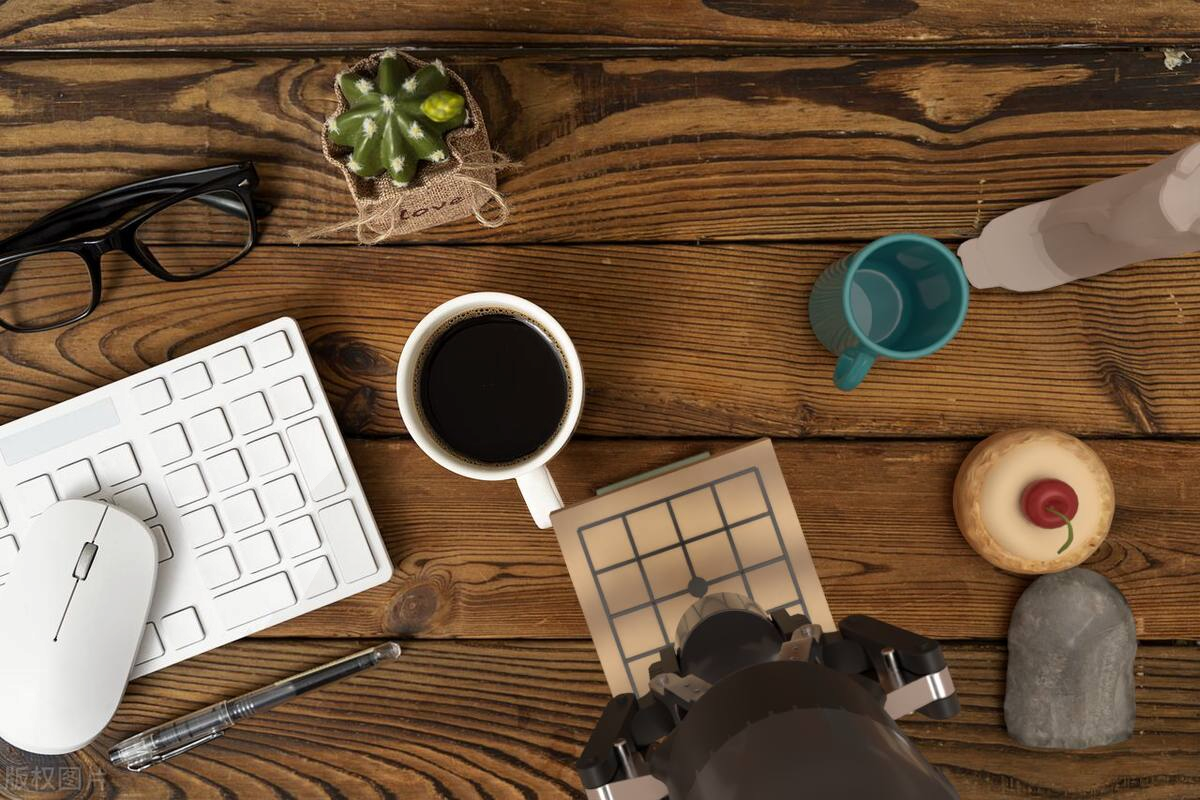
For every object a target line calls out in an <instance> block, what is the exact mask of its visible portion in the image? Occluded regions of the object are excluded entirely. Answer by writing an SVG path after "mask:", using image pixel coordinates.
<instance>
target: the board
mask: <svg viewBox="0 0 1200 800" xmlns="http://www.w3.org/2000/svg"><path fill="white" fill-rule="evenodd" d="M785 479H786V478H785V477H784V473H783V471H782V468H781V465H780V462H779V459H778V456H777V453H776V450H775V448H774V445H773V442H772V439H771V438H770V437H766V436H763V437H761V438H758V439H755V440H752V441H749V442H747V443H743V444H740V445H738V446H735V447H732V448H730V449H726V450H723V451H720V452H718V453H716V454H712V455H711V454H710V452H709V451H708V450H706V451H703V452H699V453H697V454H694V455H692V456H688V457H685V458H682V459H680V460H677V461H674V462H670V463H668V464H665V465H662V466H659V467H657V468H654V469H651V470H648V471H645V472H642V473H639V474H636V475H633V476H631V477H627V478H625V479H622V480H619V481H617V482H614V483H610V484H608V485H605V486H603V487H599V488H597V489H596V495H594V496H592V497H589V498H585V499H583V500H580V501H577V502H574V503H571V504H569V505H565V506H562V507H559V508H557V509H554V510H551V511H550V512H549V515H548V517H549V520H550V523H551V526H552V529H553V532H554V535H555V537H556V540H557V543H558V547H559V548H560V549H559V550H560V551H561V554H562V557H563V559H564V563H565V566H566V568H567V571H568V574H569V577H570V579H571V583H572V587H573V589H574V591H575V594H576V598H577V600H578V602H579V605H580V607H581V608H580V609H581V611H582V614H583V616H584V619H585V622H586V625H587V628H588V632H589V634H590V637H591V639H592V643H593V645H594V648H595V650H596V653H597V656H598V659H599V662H600V665H601V668H602V671H603V674H604V676H605V679H606V682H607V685H608V687H609V691H610V693H611V697H612V698H614V697H615V696H617V695H619V694H622V693H634V694H635V695H636V698H637V699H639V698H641V697H643V696H644V695H646V694H647V693H648V692H649V691H650V688H649V685H648V683H649V682H650V678H649V671H648V668H649V667H650V665H651V664H652V663H655V662H658V661H661V658H660V653H659V650H662V649H665V648H668V647H671V646H673V647H674V649H675V634H676V629H677V626H678V624H679V621H680V619H681V618H682V616H683V614H684V613H685V612H686V610H687V609H688V608H689V607H690V606H691V605H692V604H694V603H695V602H696V601H698V600H699V599H701V598H703V597H705V596H707V595H710V594H714V593H720V592H731V593H737V594H741V595H744V596H746V597H748V598H750V599H752V600H754V601H755V602H756V603H758V604H759V605H760V606H761V607H762V608H763V609H764V610H765V612H766V613H767V614H768V616H769V617H770V619H771V616H770V612H773V611H776V610H779V609H782V608H785V610H786V611H787V612H788V613H789V615H790V616H792V615H795V614H798V613H799V614H803V615H805V616H806V617H807V618H808V620H809V621H810V622H811V623H812V624H819V625H821V627H822V630H823V632H834V631H838V629H837V627H836V624H835V621H834V617H833V615H832V612H831V610H830V606H829V604H828V601H827V598H826V595H825V592H824V589H823V586H822V584H821V583H822V582H821V580H820V578H819V575H818V571H817V569H816V566H815V563H814V560H813V557H812V555H811V552H810V548H809V546H808V542H807V541H806V537H805V534H804V531H803V528H802V525H801V523H800V520H799V517H798V514H797V512H796V508H795V507H794V506H795V505H794V502H793V500H792V497H791V494H790V491H789V488H788V485H787V483H786V480H785ZM771 620H772V619H771ZM675 652H676V651H675Z"/></svg>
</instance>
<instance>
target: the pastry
mask: <svg viewBox="0 0 1200 800" xmlns="http://www.w3.org/2000/svg"><path fill="white" fill-rule="evenodd" d="M952 506H953V512H954V516H955V520H956V523H957V527H958V529H959V531H960V532H961V533H960V534H962V536H963V537H964V539H965V541H966V542H967V543H968V544H969V546H970V547H971V548H972V549H973V550H974V551H975V552H976V553H977V554H978V555H979V556H981V557H982V558H983V559H985V560H986V561H987V562H989V563H990V564H992V565H993V566H995V567H997V568H999V569H1002V570H1004V571H1008V572H1010V573H1015V574H1016V573H1017V574H1023V575H1025V574H1026V575H1043V574H1046V573H1055V572H1060V571H1063V570H1067V569H1069V568H1072V567H1078V566H1079V565H1081V564H1082V563H1083V562H1085V561H1087V559H1088V558H1089V557H1091V556H1092V555H1093V554H1094V553H1095V552H1096V551H1097V550H1098V549H1099V547H1100V546H1101V545H1102V544H1103V542H1104V541H1105V539H1106V538H1107V536H1108V534H1109V532H1110V529H1111V526H1112V522H1113V518H1114V514H1115V509H1116V497H1115V487H1114V483H1113V479H1112V477H1111V475H1110V473H1109V470H1108V469H1107V467H1106V465H1105V463H1104V462H1103V460H1102V459H1101V458H1100V457H1099V455H1098V453H1096V452H1095V451H1094V449H1092V448H1091V447H1090V446H1089V445H1087V444H1086V443H1085V442H1083V441H1082V440H1080V439H1079V438H1077V437H1076V436H1073V435H1071V434H1069V433H1065V432H1063V431H1061V430H1057V429H1053V428H1047V427H1017V428H1011V429H1010V428H1009V429H1006V430H1002V431H999V432H996V433H993V434H991V435H990V436H988V437H986V438H985V439H983V440H982V441H980V442H978V443H977V444H976V445H974V447H973V448H972V449H971V450H970V451H969V453H968V454H967V455H966V457H965V459H964V460H963V461H962V463H961V465H960V467H959V469H958V471H957V472H956V477H955V480H954V484H953V491H952Z"/></svg>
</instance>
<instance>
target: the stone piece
mask: <svg viewBox="0 0 1200 800" xmlns="http://www.w3.org/2000/svg"><path fill="white" fill-rule="evenodd" d="M783 643H784V640H783V638H782V635H781V634H780V632H779V630H778V629H777V628H776V626H775V625H774V623H773V622H772V620H771V619H770V617H769V616H768V614H767V613H766V612H765V610H764V609H763V608H762V607H761V606H760V605H759V604H758V603H756V602H755V601H754V600H752V599H750V598H748V597H746V596H744V595H741V594H737V593H731V592H720V593H714V594H710V595H707V596H705V597H703V598H701V599H699V600H698V601H696V602H695V603H694V604H692V605H691V606H690V607H689V608H688V609H687V610H686V612H685V613H684V614H683V616H682V618H681V619H680V621H679V624H678V626H677V629H676V634H675V651H676V655H677V659H678V663H679V667H680V671H681V674H682V677H683V678H684V677H686V676H688V675H690V674H693V675H694V676H696V677H698V678H700V679H702V680H704V681H706V682H707V683H709V684H711V685H714V684H716V683H717V682H718V681H720V680H721V679H723V678H725V677H726V676H728V675H730V674H732V673H734V672H736V671H738V670H740V669H743V668H745V667H748V666H751V665H755V664H758V663H763V662H769V661H777V660H778V657H779V654H780V650H781V647H782V644H783Z"/></svg>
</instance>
